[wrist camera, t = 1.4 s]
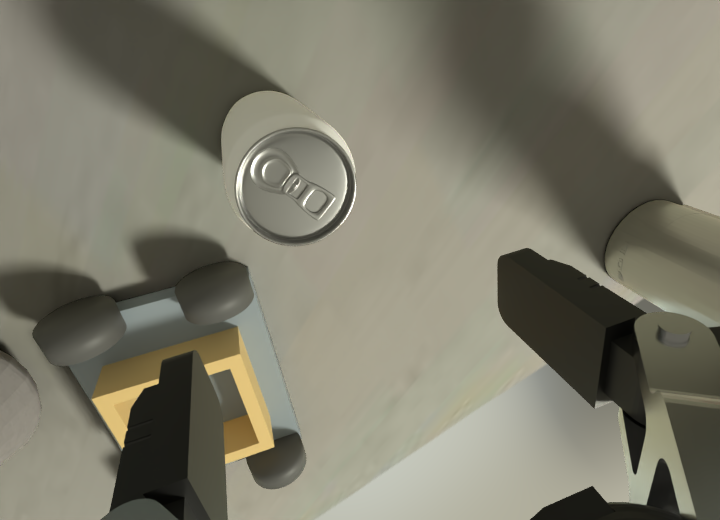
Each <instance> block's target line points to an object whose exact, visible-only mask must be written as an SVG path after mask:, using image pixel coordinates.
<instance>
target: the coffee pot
mask: <svg viewBox="0 0 720 520" xmlns="http://www.w3.org/2000/svg"><path fill="white" fill-rule="evenodd" d="M41 408H42V407H41V402H40V398H39V393H38V389H37V386H36V383H35V382H34V380H33V379H32V377H31V375H30V374H29V372H28V371H27V369H26V368H24V367H23V366H22V365H21V364H20V363H19V362H17V361H16V360H15V359H14V358H13V357H12V356H10V355H8V354H6V353H4V352H2V351H0V466H1V465H2V464H3V463H4V462H5V461H7V460H8V459H9V458H10V457H11V456H13V455H14V454H15V453H16V452H17V451H19V450H20V449H21V448H22V447H23V446H24V445H26V444H27V443H28V441H29V440H30V438H31V437H32V435H33V433H34V432H35V430H36V429H37V427H38V425H39V419H40V414H41Z"/></svg>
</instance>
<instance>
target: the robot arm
mask: <svg viewBox="0 0 720 520" xmlns="http://www.w3.org/2000/svg"><path fill="white" fill-rule="evenodd" d="M605 266H606V270H607V272H608V274H609V276H610V277H611V278H612V279H613V280H615V281H617V282H618V283H620V284H622V285H623V286H625V287H627V288H628V289H630V290H631V291H633V292H635V293H636V294H638V295H640V296H641V297H643V298H644V299H646V300H648V301H649V302H652V303H653V304H655V305H656V306H658V307H659V308H661V309H663V310H664V311H666V312H652V313H648V314H647V313H645V312H644V311H642V310H641V309H639V308H637V307H636V306H634V305H633V304H631V303H629V302H628V301H626V300H625V299H623V298H621V297H620V296H618V295H617V294H615V293H613V292H612V291H610V290H609V289H607V288H605V287H604V286H600V285H599V283H597V282H596V281H594V280H593V279H591V278H587V277H586V275H585V274H583V273H581V272H580V271H578V270H577V269H575V268H573V267H572V266H570V265H566V264H563V263H560V262H557V261H554V260H547V259H545V258H544V257H542V256H541V255H539V254H538V253H536V252H535V251H533V250H531V249H529V248H525V249H521V250H518V251H515V252H512V253H509V254H505V255H502V256H500V257H499V259H498V308H499V312H500V314H501V317H502V319H503V320H504V322H505V323H506V324H507V325H508V327H510V328H511V329H512V330H513V331H514V332H515V333H516V334H517V335H518V336H519V337H520V338H521V339H522V340H523V341H524V342H525V343H526V344H527V345H528V346H529V347H530V348H532V349H533V350H534V351H535V352H536V353H537V354H538V355H539V356H540V357H541V358H542V359H543V360H544V361H545V362H546V363H547V364H548V365H549V366H550V367H551V368H553V369H554V370H555V371H556V372H557V373H558V374H559V375H560V376H561V377H562V378H563V379H564V380H565V381H566V382H567V383H568V384H569V385H570V386H571V387H573V389H575V390H576V391H577V392H578V393H579V394H580V395H581V396H582V397H583V398H584V399H585V400H586V401H587V402H588V403H589V404H590V405H591V406H592V407H593V408H598V407H600V406H602V405H605V404H608V403H610V402H612V401H614V402H615V403H616V404H617V405H618V406H619V413H618V420H619V425H620V433H621V439H622V445H623V452H624V458H625V464H626V470H627V477H628V482H629V495H630V496H629V503H626V502H609V503H607V502H606V501H605V500H604V499H603V498H602V497H601V495H600V494H599V493H598V492H597V491H596V490H595V489H594V487H593V486H591V487H589V488H587V489H585V490H582V491H580V492H578V493H575V494H573V495H571V496H569V497H566V498H564V499H562V500H560V501H557V502H555V503H553V504H550V505H548V506H546V507H544V508H543V509H542V510H540V511H539V512H538V513H537V514H536V515H535V516H534V517H533V518H531V519H530V520H720V217H719V216H716V215H713V214H710V213H708V212H705V211H702V210H699V209H696V208H693V207H691V206H688V205H678V204H675V203H673V202H670V201H666V200H654V201H650V202H647V203H645V204H643V205H641V206H639V207H637V208H636V209H635V210H633V211H632V212H630V213H629V214H628V215H627V216H626V217H625V218H624V219H623V220H622V221H621V223H620V224H619V225H618V226H617V228H616V229H615V231H614V233H613V234H612V236H611V238H610V240H609V243H608V245H607V249H606V253H605ZM127 429H128V431H126V435H125V439H124V447H123V449H122V454H121V459H120V464H119V469H118V474H117V478H116V483H115V488H114V493H113V498H112V503H111V508H110V512H109V513H108V514H107V515H106V516H104V517H103V518H102V519H101V520H228V518H227V495H226V472H225V448H224V425H223V415H222V410H221V406H220V402H219V399H218V397H217V394H216V392H215V390H214V387H213V385H212V383H211V380H210V378H209V376H208V373H207V371H206V369H205V367H204V364H203V362H202V360H201V357H200V355H199V353H198V352H197V351H196V350H193V351H190V352H186V353H183V354H180V355H177V356H173V357H170V358H167V359H164V360H162V363H161V369H160V376H159V383H158V384H157V385H153V386H150V387H147V388H144V389H143V391H142V392H141V394H140V395H139V397H138V398H137V400H136V401H135V403H134V404H133V406H132V407H131V410H130V415H129V420H128V425H127Z"/></svg>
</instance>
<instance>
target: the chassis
mask: <svg viewBox="0 0 720 520" xmlns="http://www.w3.org/2000/svg"><path fill="white" fill-rule="evenodd" d="M32 335H33V338H34V339H35V341H36V342H37V344H38V345H39V347H40V349H41V350H42V352H43V353H44V355H45V356H46V358H47V359H48V361H49V362H50V363H51V364H53V365H57V366H69V368H70V369H71V371H72V372H73V374H74V376H75V377H76V379H77V380H78V382H79V384H80V385H81V387H82V388H83V390H84V392H85V393H86V395H87V396H88V398H89V400H90V401H91V403H92V404H93V406H94V408H95V409H96V411H97V412H98V414H99V416H100V417H101V419H102V420H103V422H104V424H105V425H106V427H107V428H108V430H109V432H110V433H111V435H112V436H113V438H114V440H115V441H116V443H117V444H118V446H119V448H120V449H121V451H122V449H123V447H124V439H125V435H126V431H128V429H127V425H128V420H129V415H130V410H131V407H132V406H133V404H134V403H135V401H136V400H137V398H138V397H139V395H140V394H141V392H142V391H143V389H144V388H147V387H150V386H153V385H157V384H158V383H159V376H160V369H161V363H162V360H164V359H167V358H170V357H173V356H177V355H180V354H183V353H186V352H190V351H193V350H196V351H197V352H198V353H199V355H200V357H201V360H202V362H203V364H204V367H205V369H206V371H207V373H208V376H209V378H210V380H211V383H212V385H213V387H214V390H215V392H216V394H217V397H218V399H219V402H220V406H221V410H222V415H223V425H224V448H225V465H227V464H230V463H233V462H236V461H239V460H242V459H244V458H246V460H247V464H248V466H249V469H250V471H251V473H252V476H253V478H254V480H255V482H256V483H257V484H258V485H259V486H261V487H263V488H266V489H278V488H282V487H285V486H287V485H289V484H290V483H292V482H293V481H294V480H296V479H297V478H298V477H299V475H300V474H301V473H302V471H303V469H304V467H305V464H306V453H305V450H304V447H303V444H302V441H301V439H302V438H301V433H300V429H299V425H298V422H297V419H296V415H295V412H294V409H293V406H292V403H291V400H290V397H289V394H288V390H287V387H286V384H285V381H284V378H283V375H282V372H281V368H280V365H279V362H278V359H277V356H276V353H275V350H274V347H273V343H272V340H271V337H270V334H269V331H268V328H267V325H266V322H265V318H264V315H263V312H262V309H261V306H260V303H259V300H258V296H257V293H256V290H255V287H254V284H253V281H252V278H251V275H250V271H249V268H248V267H246V268H245V266H243V265H242V264H240V263H236V262H221V263H215V264H211V265H208V266H205V267H202V268H200V269H197V270H195V271H193V272H191V273H190V274H188V275H187V276H185V277H184V278H183V279H182V280H180V282H179V283H178V284H177V285H176V287H172V288H168V289H165V290H161V291H157V292H153V293H150V294H146V295H142V296H139V297H135V298H131V299H128V300H124V301H120V302H117V303H115V301H114V299H113V298H111V297H109V296H92V297H87V298H83V299H80V300H77V301H74V302H72V303H69V304H67V305H65V306H63V307H61V308H59V309H57V310H55V311H53V312H52V313H50V314H49V315H47V316H46V317H45V318H43V319H42V320H41V321H40V322H39V323H38V324H37V325H36V327H35V328H34V330H33V333H32Z"/></svg>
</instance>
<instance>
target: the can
mask: <svg viewBox="0 0 720 520" xmlns="http://www.w3.org/2000/svg"><path fill="white" fill-rule="evenodd" d="M221 148H222V165H223V177H224V185H225V190H226V194H227V197H228V200H229V202H230V204H231V206H232V208H233V210H234V211H235V213H236V214H237V216H238V217H239V218H240V219H241V221H242V222H243V223H244V224H245V225H247V226H248V227H249V228H250V229H252V230H253V231H254V232H256V233H257V234H258V235H260V236H261V237H263V238H264V239H266V240H268V241H271V242H273V243H276V244H280V245H286V246H303V245H308V244H312V243H315V242H318V241H320V240H322V239H324V238H326V237H327V236H329V235H330V234H332V233H333V232H334V231H336V230H337V229H338V228H339V227H340V226H341V225H342V223H343V222H344V221H345V219H346V218H347V216H348V215H349V213H350V211H351V209H352V206H353V203H354V200H355V195H356V175H355V166H354V161H353V157H352V155H351V152H350V150H349V148H348V146H347V144H346V143H345V141H344V140H343V138H342V137H341V136H340V134H339V133H338V132H337V131H336V130H335V129H334V128H333V127H332V126H330V125H329V124H328V123H327V122H326V121H324V120H323V119H322V118H320V117H319V116H318V115H316V114H315V113H314V112H312V111H311V110H310V109H308V108H307V107H306V106H304V105H303V104H302V103H300V102H299V101H297V100H296V99H294V98H292V97H291V96H289V95H286V94H284V93H280V92H276V91H259V92H255V93H252V94H249V95H247V96H245V97H243V98H241V99H240V100H238V101H237V102H236V103H235V104H234V105H233V107H232V108H231V109H230V111H229V113H228V114H227V116H226V119H225V121H224V124H223V128H222V133H221Z"/></svg>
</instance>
